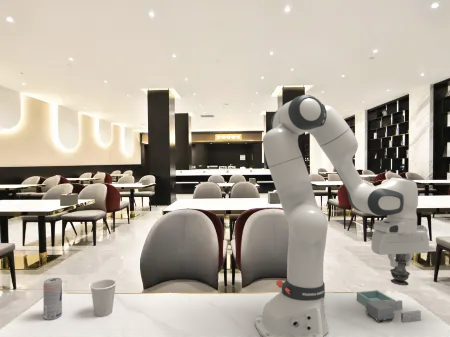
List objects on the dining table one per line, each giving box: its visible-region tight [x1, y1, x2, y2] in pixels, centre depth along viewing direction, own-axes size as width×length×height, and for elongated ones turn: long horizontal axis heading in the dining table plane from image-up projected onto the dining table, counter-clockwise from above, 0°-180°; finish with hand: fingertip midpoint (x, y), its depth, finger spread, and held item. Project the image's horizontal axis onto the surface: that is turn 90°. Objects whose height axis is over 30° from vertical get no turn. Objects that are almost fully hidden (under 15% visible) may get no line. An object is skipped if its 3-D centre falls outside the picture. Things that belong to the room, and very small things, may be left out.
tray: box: [356, 289, 396, 308], centre depth 114 cm, size 9×9×3 cm
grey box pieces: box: [366, 299, 422, 324], centre depth 105 cm, size 15×9×4 cm, turn 103°
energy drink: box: [42, 277, 63, 321], centre depth 104 cm, size 5×5×12 cm
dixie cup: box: [89, 279, 117, 318], centre depth 106 cm, size 8×8×10 cm
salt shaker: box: [389, 254, 411, 286], centre depth 105 cm, size 6×6×12 cm
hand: (399, 266), depth 105 cm, fingers closed on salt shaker, 3 cm apart
